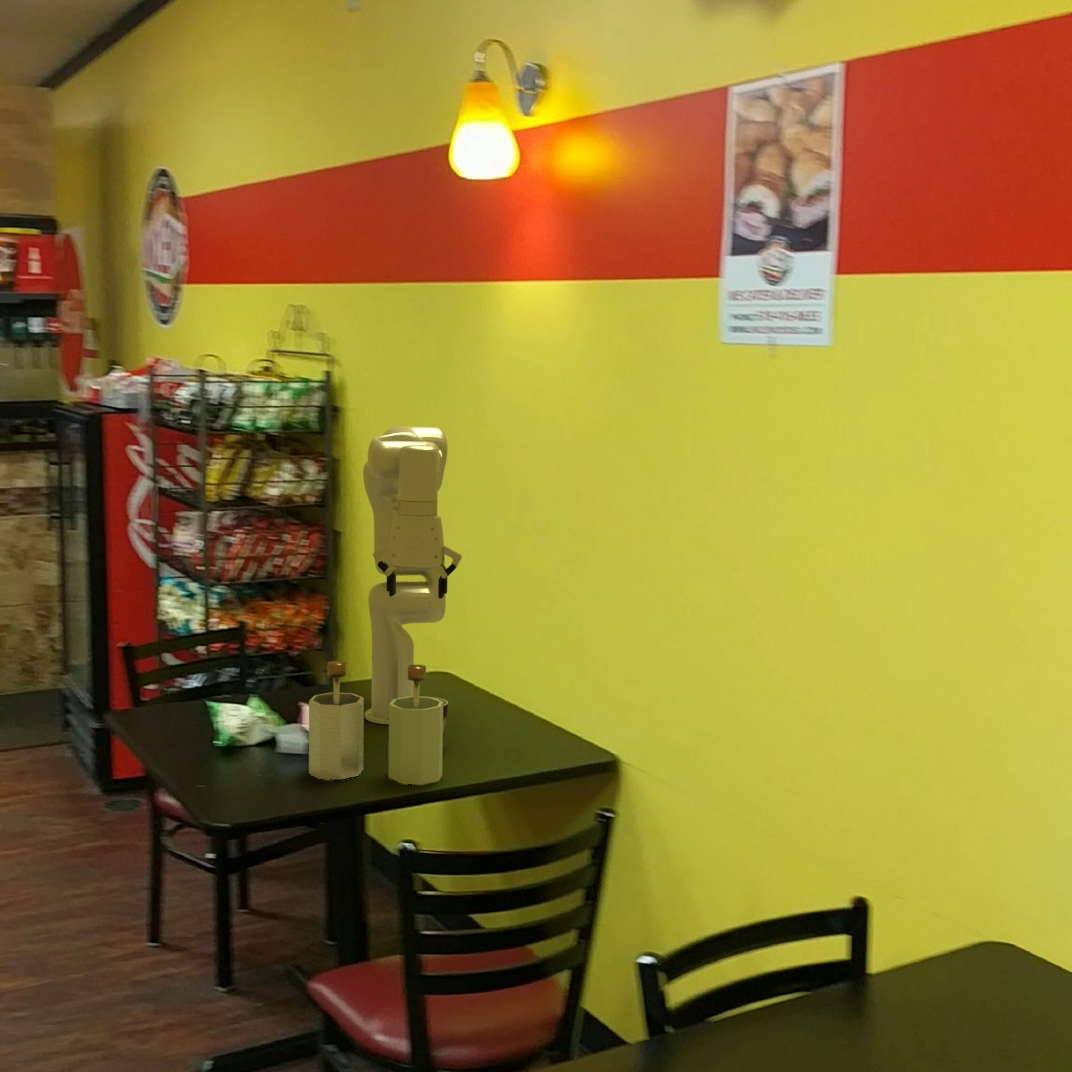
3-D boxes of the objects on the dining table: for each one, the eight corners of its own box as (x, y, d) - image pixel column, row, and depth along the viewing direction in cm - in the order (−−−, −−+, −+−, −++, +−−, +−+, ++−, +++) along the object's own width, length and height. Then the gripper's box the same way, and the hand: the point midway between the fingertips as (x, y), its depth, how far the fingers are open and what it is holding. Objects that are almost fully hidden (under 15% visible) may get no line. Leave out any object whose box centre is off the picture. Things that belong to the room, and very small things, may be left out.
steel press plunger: (322, 740, 266) (322, 657, 264) (359, 742, 265) (359, 659, 263) (312, 751, 258) (312, 666, 256) (350, 753, 258) (351, 668, 255)
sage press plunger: (400, 744, 264) (401, 661, 262) (438, 746, 264) (439, 663, 262) (393, 755, 257) (393, 670, 255) (431, 757, 256) (432, 672, 254)
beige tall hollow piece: (318, 763, 268) (318, 691, 266) (366, 765, 267) (367, 694, 265) (305, 779, 258) (305, 704, 256) (355, 781, 257) (355, 707, 255)
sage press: (395, 767, 267) (396, 695, 264) (444, 770, 266) (445, 697, 264) (385, 783, 257) (386, 708, 255) (436, 786, 256) (437, 710, 254)
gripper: (369, 509, 251) (369, 598, 254) (459, 513, 250) (457, 601, 252) (377, 505, 259) (377, 591, 261) (465, 508, 257) (463, 594, 260)
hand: (416, 596), depth 257 cm, fingers open, 9 cm apart
